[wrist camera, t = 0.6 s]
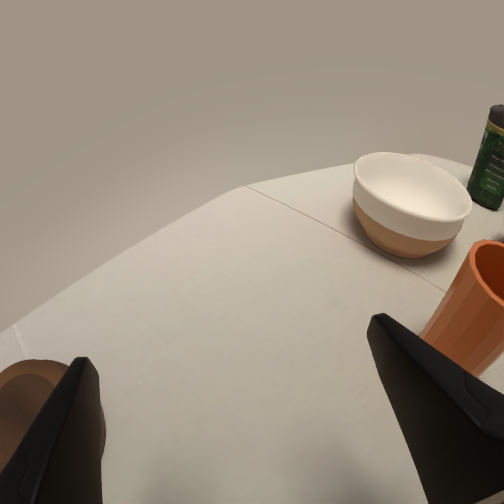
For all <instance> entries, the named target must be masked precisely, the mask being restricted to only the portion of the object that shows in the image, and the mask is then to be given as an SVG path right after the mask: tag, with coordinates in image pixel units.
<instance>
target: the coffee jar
mask: <svg viewBox="0 0 504 504" xmlns="http://www.w3.org/2000/svg"><path fill="white" fill-rule="evenodd" d="M468 193H469V195H470V196H471V197H473V198H474V199H475V200H476V201H478V203H480V204H482V205H483V206H486V207H490V208H494V209H498V208H499V207H500V205H501V203H502V201H503V198H504V105H502V104H500V105H495V106H492V107H491V108H490V113H489V117H488V121H487V125H486V128H485V132H484V136H483V139H482V142H481V146H480V149H479V152H478V156H477V159H476V162H475V165H474V168H473V171H472V173H471V176H470V179H469V182H468Z"/></svg>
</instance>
